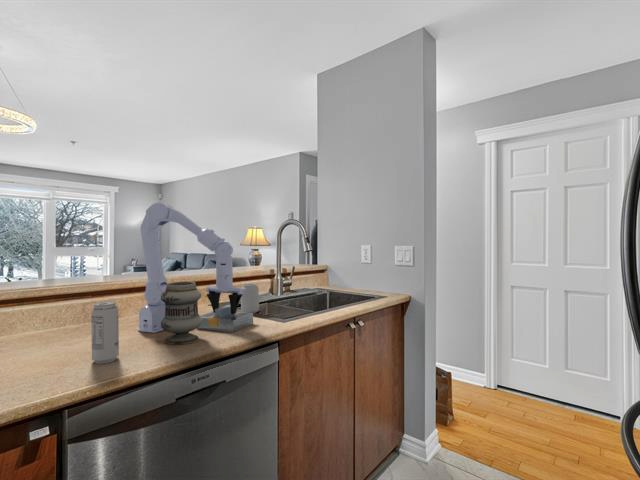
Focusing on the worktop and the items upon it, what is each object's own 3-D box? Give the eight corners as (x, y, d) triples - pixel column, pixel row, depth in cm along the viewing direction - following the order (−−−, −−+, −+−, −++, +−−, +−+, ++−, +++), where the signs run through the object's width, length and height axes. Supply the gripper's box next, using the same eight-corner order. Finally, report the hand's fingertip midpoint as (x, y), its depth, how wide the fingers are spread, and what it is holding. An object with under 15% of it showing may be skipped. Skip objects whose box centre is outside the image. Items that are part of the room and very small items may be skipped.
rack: (232, 332, 116) (232, 320, 116) (194, 328, 122) (194, 316, 122) (253, 323, 128) (253, 312, 128) (217, 320, 134) (217, 309, 134)
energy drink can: (122, 359, 91) (121, 303, 91) (96, 366, 86) (95, 306, 86) (114, 354, 95) (113, 300, 95) (88, 360, 90) (88, 303, 90)
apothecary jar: (157, 347, 101) (156, 286, 101) (164, 336, 112) (163, 281, 112) (201, 344, 104) (200, 284, 104) (203, 333, 116) (203, 279, 115)
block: (221, 326, 121) (221, 309, 121) (215, 325, 122) (215, 309, 122) (234, 321, 129) (234, 305, 129) (228, 320, 130) (228, 304, 129)
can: (260, 313, 146) (260, 284, 146) (242, 314, 143) (242, 285, 143) (257, 309, 153) (256, 282, 153) (239, 311, 150) (239, 283, 150)
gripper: (247, 275, 126) (247, 312, 126) (215, 273, 131) (215, 309, 131) (236, 277, 120) (236, 316, 120) (202, 275, 125) (202, 313, 125)
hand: (224, 312), depth 125 cm, fingers open, 7 cm apart
